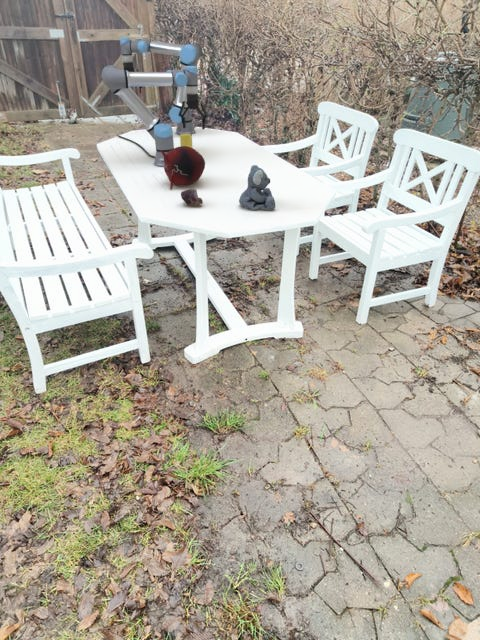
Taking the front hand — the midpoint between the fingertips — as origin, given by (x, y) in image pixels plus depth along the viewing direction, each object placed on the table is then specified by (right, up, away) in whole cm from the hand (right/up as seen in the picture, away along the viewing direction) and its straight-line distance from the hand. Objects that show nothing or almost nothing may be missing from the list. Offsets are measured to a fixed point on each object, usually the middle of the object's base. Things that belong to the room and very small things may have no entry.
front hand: (194, 128), depth 301 cm
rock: (+6, -69, -70) cm, 98 cm away
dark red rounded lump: (-1, -49, -40) cm, 63 cm away
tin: (-7, -7, +20) cm, 23 cm away
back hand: (-53, +48, +48) cm, 86 cm away
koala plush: (+39, -70, -72) cm, 108 cm away
